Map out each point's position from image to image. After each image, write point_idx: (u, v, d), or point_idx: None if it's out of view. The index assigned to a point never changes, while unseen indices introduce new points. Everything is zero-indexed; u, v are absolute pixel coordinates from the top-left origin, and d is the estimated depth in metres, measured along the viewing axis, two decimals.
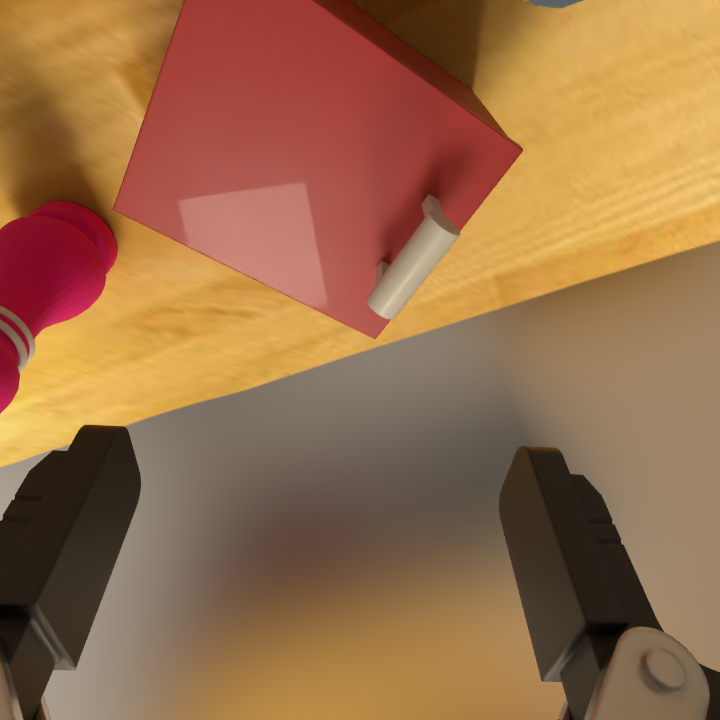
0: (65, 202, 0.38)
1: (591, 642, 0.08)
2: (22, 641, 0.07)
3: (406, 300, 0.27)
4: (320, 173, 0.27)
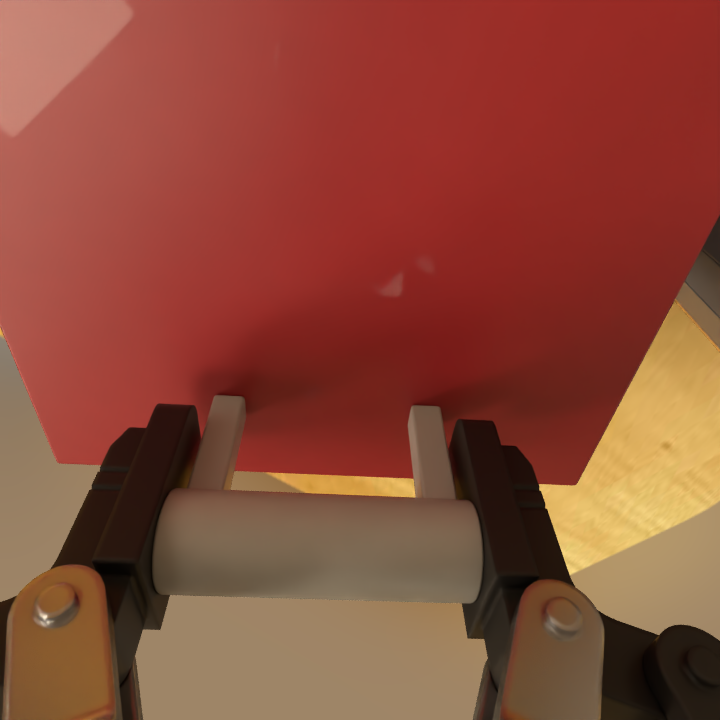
0: None
1: (504, 595, 0.09)
2: (125, 596, 0.08)
3: None
4: (377, 171, 0.09)
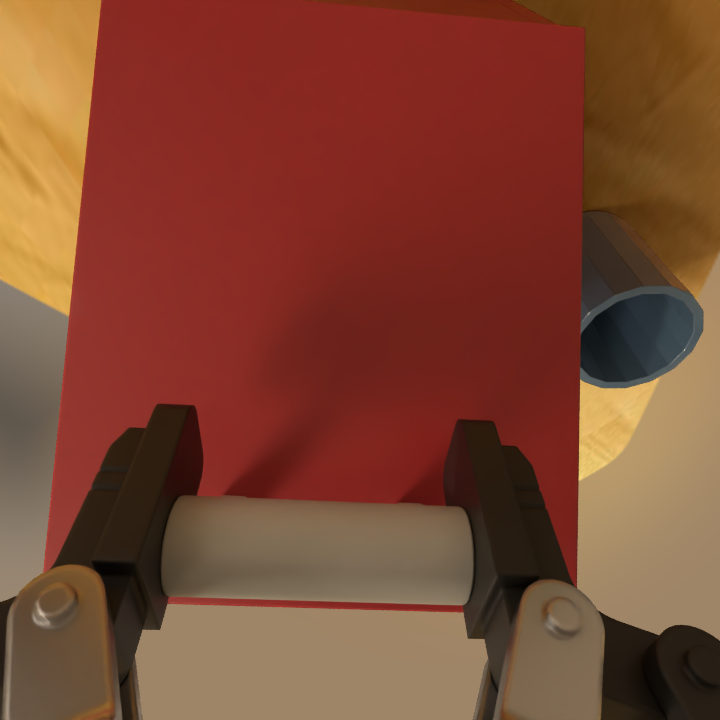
0: None
1: (505, 595, 0.09)
2: (124, 596, 0.08)
3: (239, 592, 0.09)
4: (356, 298, 0.14)
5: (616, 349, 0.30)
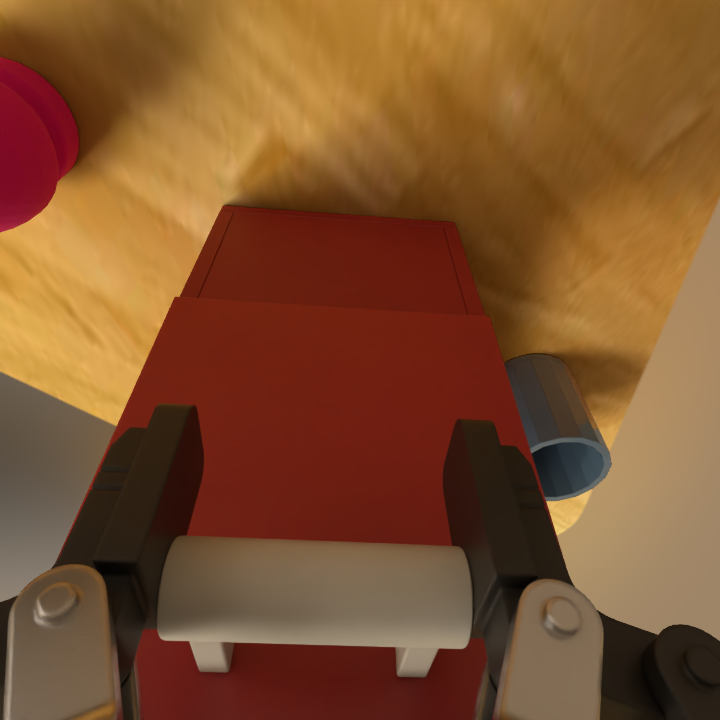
0: (64, 105, 0.27)
1: (504, 595, 0.09)
2: (126, 596, 0.08)
3: (236, 605, 0.09)
4: (344, 465, 0.17)
5: (552, 465, 0.37)
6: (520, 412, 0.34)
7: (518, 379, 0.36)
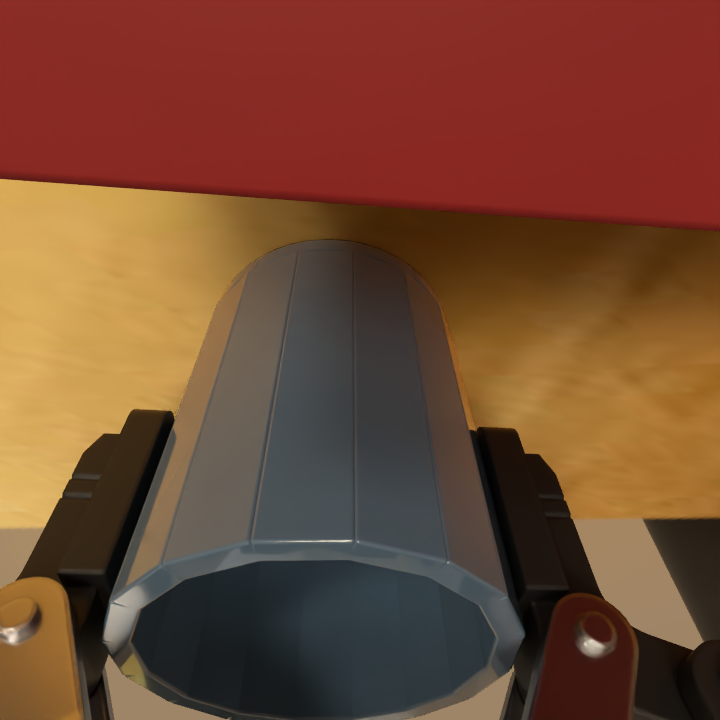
0: None
1: (533, 609, 0.08)
2: (91, 608, 0.08)
3: None
4: None
5: None
6: (449, 417, 0.09)
7: (443, 340, 0.12)
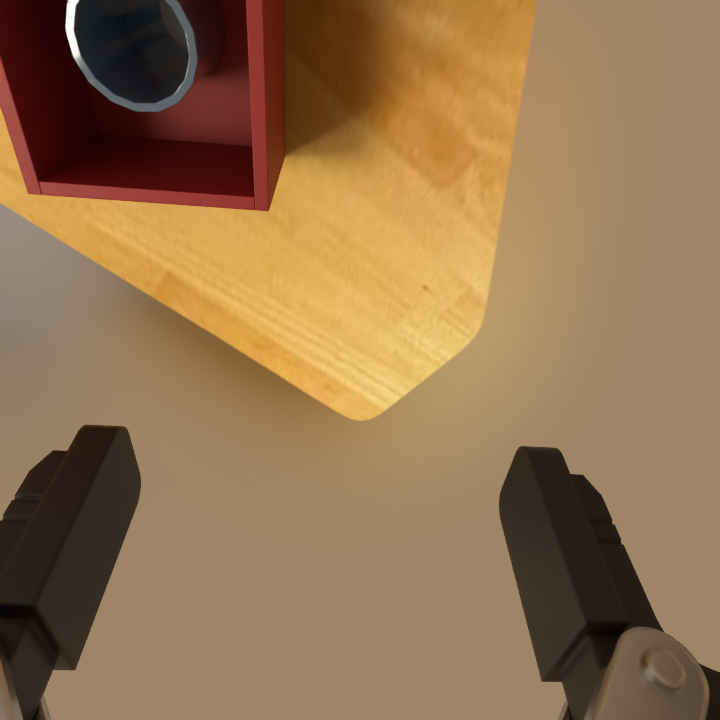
0: None
1: (591, 642, 0.08)
2: (22, 641, 0.07)
3: None
4: None
5: (104, 54, 0.29)
6: None
7: None
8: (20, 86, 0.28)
